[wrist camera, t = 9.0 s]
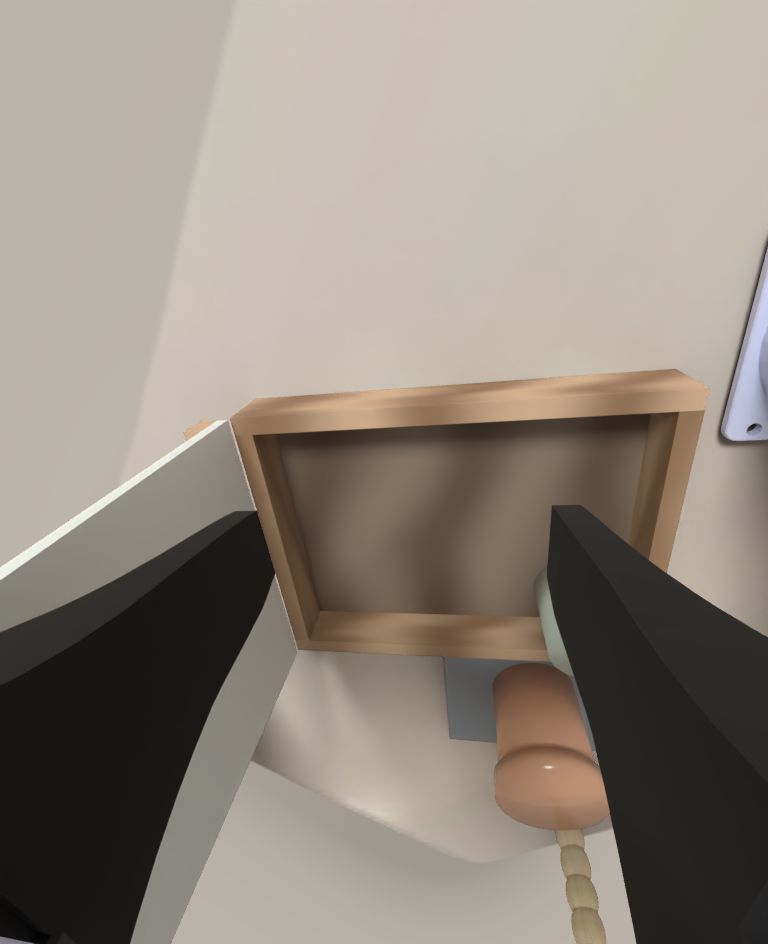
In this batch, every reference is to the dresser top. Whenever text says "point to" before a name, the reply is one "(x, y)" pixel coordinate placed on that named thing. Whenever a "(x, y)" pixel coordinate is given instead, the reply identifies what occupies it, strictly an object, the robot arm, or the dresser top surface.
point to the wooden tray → (457, 501)
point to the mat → (481, 697)
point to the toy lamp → (580, 888)
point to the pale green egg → (550, 624)
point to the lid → (250, 679)
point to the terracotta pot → (544, 751)
